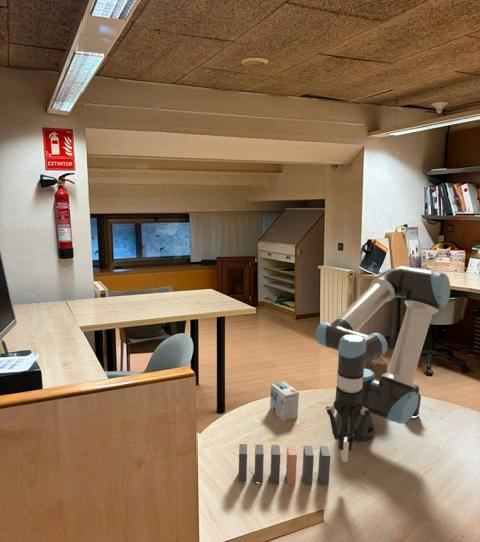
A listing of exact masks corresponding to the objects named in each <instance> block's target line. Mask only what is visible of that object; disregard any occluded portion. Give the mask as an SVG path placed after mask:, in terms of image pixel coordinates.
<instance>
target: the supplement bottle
mask: <svg viewBox="0 0 480 542" xmlns="http://www.w3.org/2000/svg"><path fill="white" fill-rule="evenodd" d="M414 385H415V387H416V388H415V391H414V392H416V393H417V394H418V397H419V399H418V405H417V408H416V410H415V412H414V414H413V416H417V415H419V416H420V408H421V400H422V396H421V394H420V387H419V386H418V385H416V384H414Z"/></svg>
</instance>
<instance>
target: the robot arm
mask: <svg viewBox="0 0 480 542" xmlns="http://www.w3.org/2000/svg"><path fill="white" fill-rule="evenodd" d="M450 296H451V282H450V279H449V277H448V275H447V274H446V273H445V272H442V271H436V270H434V269H425V268H418V267H413V266H412V267H411V266H406V265H401V266H396V267H392V268H390V269H388V270H385V271H383V272H381V273H380V274H378V275H377V276H376V277H375V278H374V279H373V280H372V281H371V282H370V286H369V287H368V288H367V289H366V290H365V291H364V292H363V293H362V294H361V295H360V296H359V297H358V298H356V300H355V301H354V302H353V303H352V304H351V305H350V306H348V307H347V309H345V310H344V311H343V312H342V313H341V314H340V315H339V316H337V318H336V319H335V320H334V321H332V323H329V322H320V323H319V325H318V326H317V327H316V331H315V339H316V342H317V344H319V345H321V346H322V347H326V348H328V349H331V350H336V351H338V358H337V374H336V387H335V399H334V402H333V404H332V405H331V406H326V407H325V410H326V414H327V415H328V417H329V420H330V421H329V422H330V426H331V430H332V436H333V438H334V440H337V441H338V445H337V447H338V449H339V451H340V458H341V461H342V462H346V463H347V462H348V459H349V451H352V449H353V443H354V441H356V442H357V441H358V442H361V441H362V442H363V441H367V440H370V439H372V438H373V437H374V436H375V432H376V426H375V422H374V418H373V414H374V415H376V416H379V417H381V418H383V419H386V420H388V421H390V422H393V423H396V424H400V425H401V424H405V423H407V422H409V420H410V419H412V418H411V417H412V416H413V414H414V412H415V410H416V408H417V405H418V399H419V397H418V394H417V393H416V392H414V391H415V388H416V387H415V385H416V384H415V383H414V378H415V373H416V370H417V367H418V364H419V361H420V357H421V354H422V350H423V346H424V345H425V341H426V337H427V334H428V330H429V328H430V324H431V321H432V318H433V315H434V314H437V313H438V312H440V311H439V310H440V308H441V307H445V306H447V304H448V302H449V300H450ZM395 298H403V299H404V304H405V306H406V311H405V314H404V316H403V319H402V322H401V327H400V330H399V332H398V336H397V339H396V343H395V346H394V349H393V352H392V355H391V359H390V362H389V366H388V367H387V372H386V373H385V374H383V375H381V378H380V380H378V379H375V378H374V377H375V374H374V372H373V371H371V370H369V369H365V368H364V365H365V364H367V363H369V362H371V361H373V360H375V359H378V358H382V356H383V355H385V354H386V352H387V351H388V341H387V339H386V338H385V336H384V335H382V334H381V333H378V332H371V333H368V334H367V333H363V332H360V331H358V330H360V329H361V327H363V326H364V325H365V324H366V323H367V322H368V321H369V319H371V318H372V316H373V315H375V313H376V312H377V311H378V310H379V309H380V308H381V307H382V306H384V304H385V303H386V302H391V301H392V300H393V299H395ZM335 412H336V414H335ZM334 414H335V415H334Z"/></svg>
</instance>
